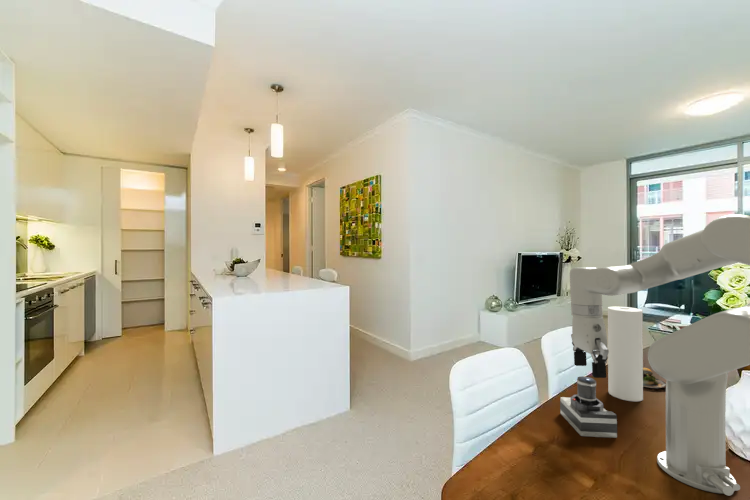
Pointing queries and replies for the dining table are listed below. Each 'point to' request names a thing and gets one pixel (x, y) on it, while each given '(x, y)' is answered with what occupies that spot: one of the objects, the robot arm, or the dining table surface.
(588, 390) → the lens
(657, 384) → the white patterned bowl
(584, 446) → the dining table surface
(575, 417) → the grey striped block
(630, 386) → the cylinder container
